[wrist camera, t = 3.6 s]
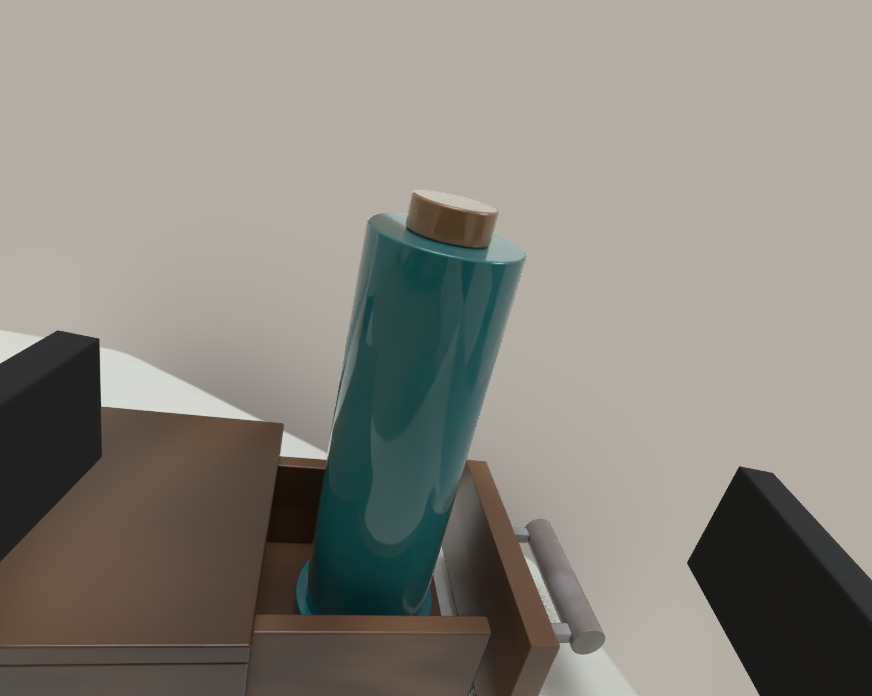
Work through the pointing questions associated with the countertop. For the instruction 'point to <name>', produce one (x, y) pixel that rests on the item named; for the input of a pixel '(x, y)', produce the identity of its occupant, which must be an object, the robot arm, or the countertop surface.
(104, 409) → the cabinet
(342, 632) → the drawer
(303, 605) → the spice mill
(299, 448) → the countertop surface
